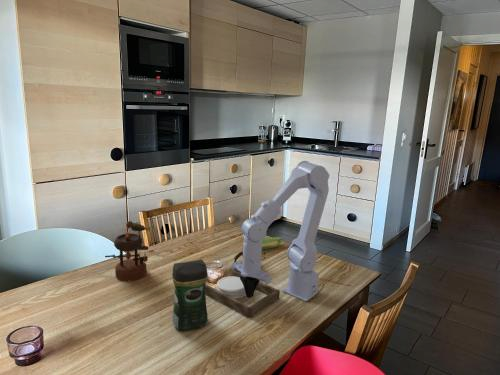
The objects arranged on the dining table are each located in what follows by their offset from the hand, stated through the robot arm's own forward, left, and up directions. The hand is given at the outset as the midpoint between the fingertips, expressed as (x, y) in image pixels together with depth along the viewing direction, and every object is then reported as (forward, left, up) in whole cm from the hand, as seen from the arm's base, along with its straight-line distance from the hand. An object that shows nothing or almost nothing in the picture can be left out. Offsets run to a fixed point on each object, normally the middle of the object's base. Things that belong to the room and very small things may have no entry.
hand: (249, 296), depth 116 cm
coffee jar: (+5, +21, -2) cm, 22 cm away
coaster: (+8, 0, -2) cm, 8 cm away
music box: (+42, +17, -2) cm, 45 cm away
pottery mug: (+15, -17, -2) cm, 23 cm away
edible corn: (+22, -37, -2) cm, 43 cm away
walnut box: (+4, 0, -1) cm, 4 cm away
